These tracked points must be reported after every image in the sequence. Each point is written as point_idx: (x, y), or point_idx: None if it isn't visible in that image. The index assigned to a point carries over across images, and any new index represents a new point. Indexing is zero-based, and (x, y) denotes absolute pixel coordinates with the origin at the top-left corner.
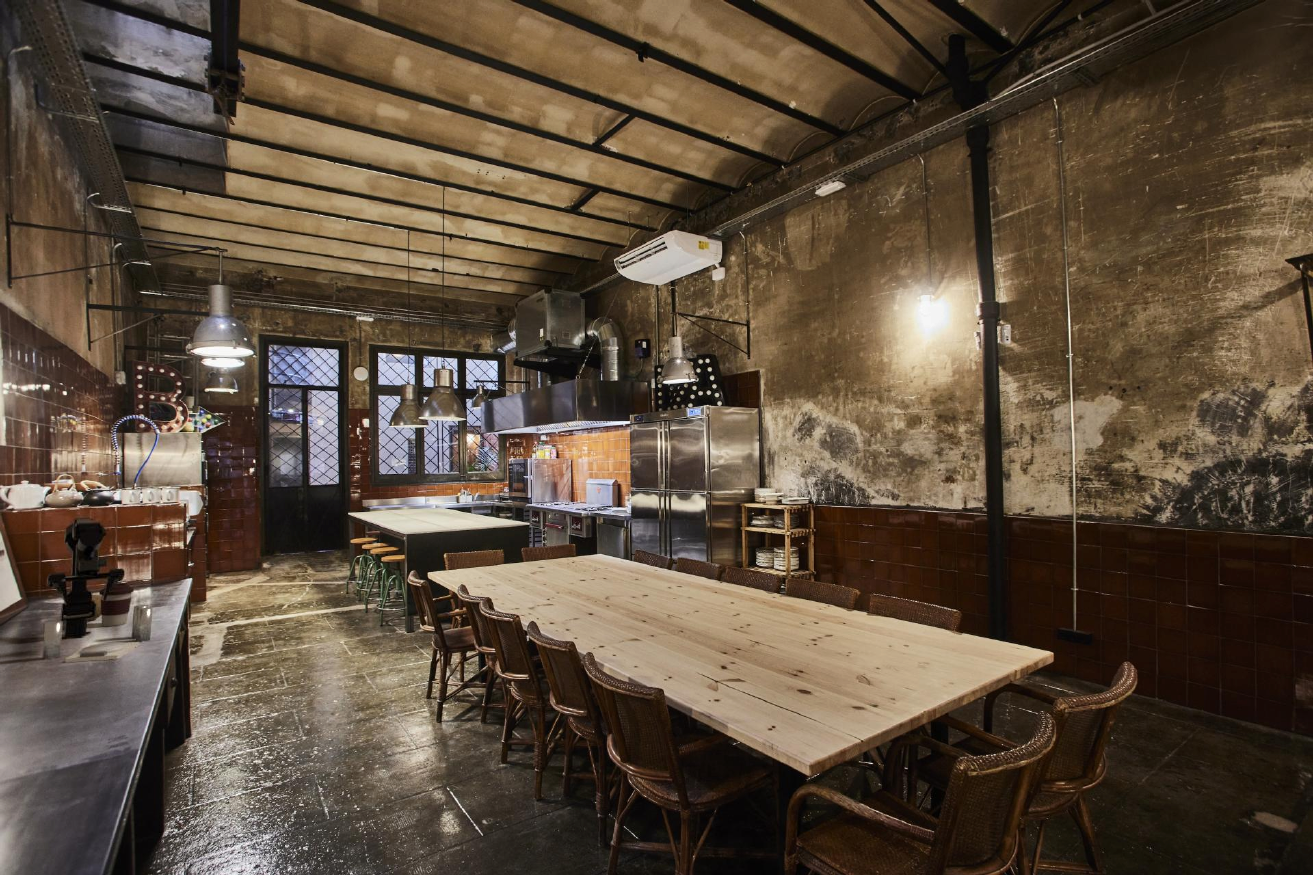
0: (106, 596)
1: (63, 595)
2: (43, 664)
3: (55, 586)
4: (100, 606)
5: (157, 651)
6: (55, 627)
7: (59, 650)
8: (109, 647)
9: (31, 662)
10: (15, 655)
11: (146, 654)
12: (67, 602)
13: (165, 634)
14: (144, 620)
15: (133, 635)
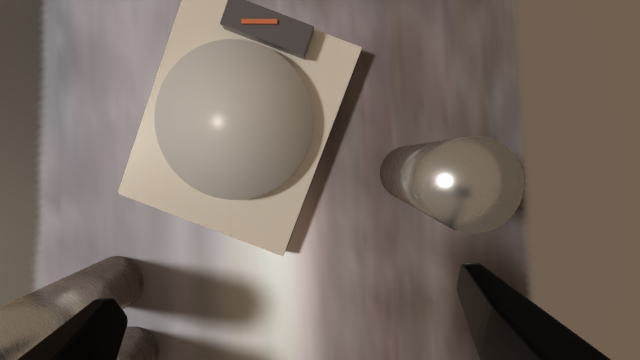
0: (57, 332)
1: (599, 356)
2: (425, 69)
3: None
4: None
5: (63, 36)
6: (451, 139)
7: (388, 161)
8: (214, 99)
9: (463, 131)
10: (518, 290)
11: (99, 7)
12: (470, 269)
13: None
14: (30, 295)
15: (144, 343)
